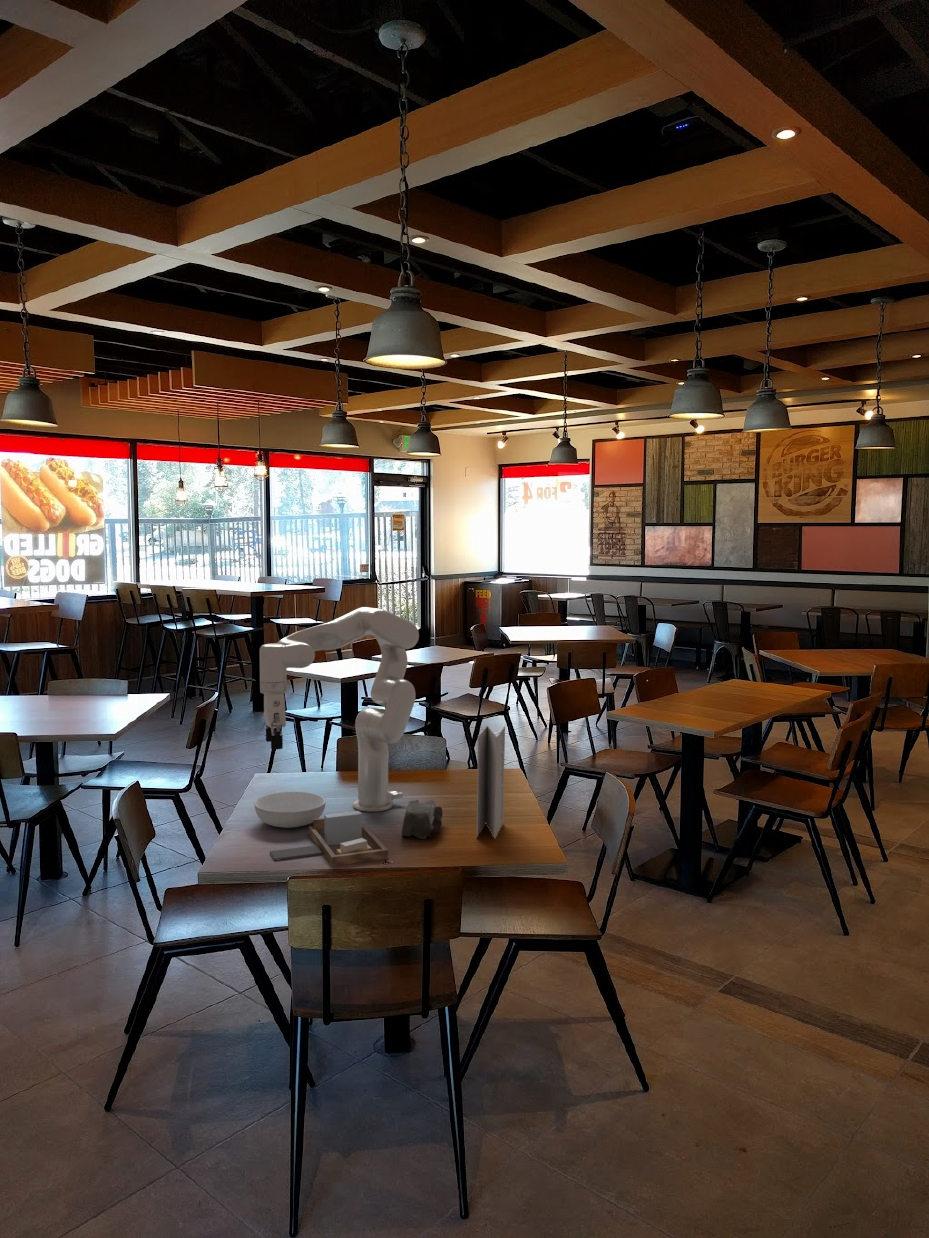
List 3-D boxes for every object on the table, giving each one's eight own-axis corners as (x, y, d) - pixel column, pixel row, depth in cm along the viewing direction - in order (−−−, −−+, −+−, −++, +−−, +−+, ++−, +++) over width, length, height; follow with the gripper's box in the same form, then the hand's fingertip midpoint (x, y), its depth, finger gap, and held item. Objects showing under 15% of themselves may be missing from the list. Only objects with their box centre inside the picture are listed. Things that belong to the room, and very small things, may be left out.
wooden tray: (360, 828, 268) (360, 813, 267) (388, 858, 244) (388, 842, 243) (308, 834, 262) (308, 819, 261) (332, 866, 238) (332, 849, 237)
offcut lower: (367, 852, 250) (367, 844, 249) (371, 855, 247) (371, 847, 247) (336, 857, 246) (336, 849, 245) (340, 860, 243) (340, 853, 243)
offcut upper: (361, 844, 250) (361, 837, 249) (367, 846, 248) (367, 840, 247) (340, 849, 245) (340, 843, 245) (345, 852, 243) (345, 846, 243)
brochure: (495, 840, 259) (497, 737, 256) (476, 838, 260) (477, 736, 257) (503, 824, 273) (505, 726, 270) (485, 822, 274) (486, 725, 271)
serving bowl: (330, 831, 265) (330, 808, 264) (256, 837, 259) (256, 814, 258) (320, 810, 285) (320, 788, 284) (252, 815, 279) (252, 793, 278)
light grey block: (358, 837, 260) (358, 810, 259) (361, 841, 257) (361, 813, 256) (324, 842, 256) (324, 814, 255) (327, 845, 253) (327, 817, 252)
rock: (439, 843, 256) (439, 816, 255) (399, 842, 256) (400, 815, 256) (443, 823, 274) (444, 797, 273) (406, 822, 275) (406, 796, 274)
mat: (317, 847, 252) (317, 845, 252) (322, 854, 246) (322, 852, 246) (270, 853, 247) (270, 851, 246) (274, 860, 241) (274, 858, 241)
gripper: (291, 691, 254) (292, 751, 256) (281, 681, 270) (282, 737, 272) (264, 692, 251) (265, 753, 253) (256, 682, 267) (256, 739, 269)
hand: (274, 745), depth 263 cm, fingers open, 9 cm apart
